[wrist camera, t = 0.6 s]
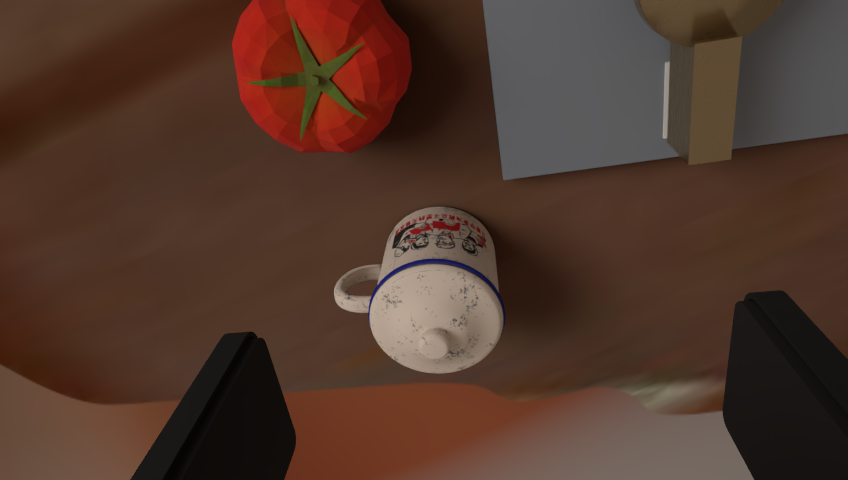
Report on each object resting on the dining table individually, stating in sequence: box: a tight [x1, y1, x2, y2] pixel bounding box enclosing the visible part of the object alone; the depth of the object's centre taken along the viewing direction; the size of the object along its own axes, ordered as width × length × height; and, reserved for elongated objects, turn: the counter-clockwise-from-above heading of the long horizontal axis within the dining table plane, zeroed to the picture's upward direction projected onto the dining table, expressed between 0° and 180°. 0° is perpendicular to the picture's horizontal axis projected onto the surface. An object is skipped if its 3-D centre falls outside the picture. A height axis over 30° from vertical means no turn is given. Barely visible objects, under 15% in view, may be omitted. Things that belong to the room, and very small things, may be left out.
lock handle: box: [634, 0, 784, 165], centre depth 32 cm, size 14×8×4 cm, turn 10°
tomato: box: [232, 0, 412, 153], centre depth 35 cm, size 11×11×8 cm
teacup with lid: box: [334, 207, 505, 373], centre depth 40 cm, size 12×9×12 cm
